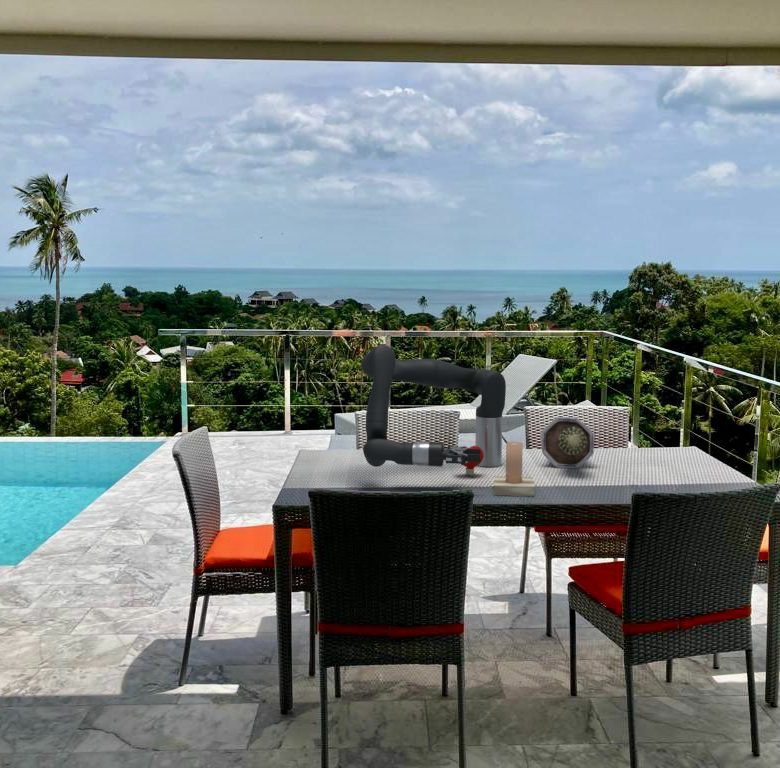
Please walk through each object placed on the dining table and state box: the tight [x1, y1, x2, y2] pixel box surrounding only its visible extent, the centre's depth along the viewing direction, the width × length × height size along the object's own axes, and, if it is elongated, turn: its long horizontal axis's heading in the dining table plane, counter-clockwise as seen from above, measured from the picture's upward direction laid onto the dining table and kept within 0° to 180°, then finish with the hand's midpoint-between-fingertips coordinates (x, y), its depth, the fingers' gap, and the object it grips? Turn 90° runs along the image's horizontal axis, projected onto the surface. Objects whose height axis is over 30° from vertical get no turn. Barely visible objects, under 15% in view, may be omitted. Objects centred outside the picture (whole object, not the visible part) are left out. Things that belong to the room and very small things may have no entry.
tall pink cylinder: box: [505, 441, 524, 484], centre depth 260 cm, size 5×5×12 cm
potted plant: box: [540, 416, 595, 469], centre depth 289 cm, size 18×18×30 cm
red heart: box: [460, 445, 484, 477], centre depth 280 cm, size 9×7×10 cm
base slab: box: [493, 476, 536, 497], centre depth 261 cm, size 12×12×3 cm
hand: (480, 455), depth 261 cm, fingers open, 8 cm apart
